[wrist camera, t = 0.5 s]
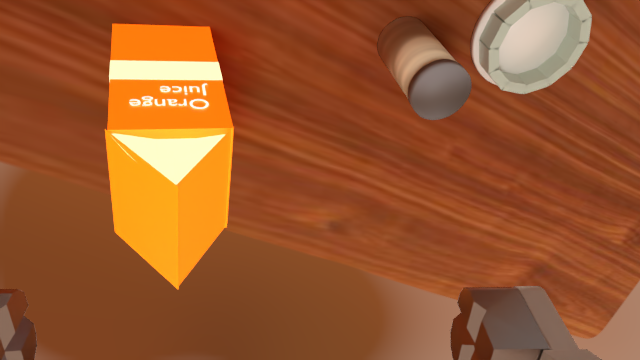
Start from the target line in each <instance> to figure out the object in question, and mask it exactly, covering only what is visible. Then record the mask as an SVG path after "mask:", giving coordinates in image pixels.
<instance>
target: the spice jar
mask: <svg viewBox="0 0 640 360" xmlns="http://www.w3.org/2000/svg"><path fill="white" fill-rule="evenodd" d="M377 50H378V53H379V56H380V57H381V59H382V60H383V62H384V63H385V65H386V66H387V68H388V69H389V71H390V72H391V74H392V75H393V77H394V78H395V80H396V81H397V83H398V84H399V86H400V87H401V89H402V90H403V92H404V93H405V95H406V96H407V98H408V100H409V102H410V104H411V106H412V107H413V109H414V110H415V112H416V113H417V114H418V115H419V116H421V117H422V118H425V119H429V120H437V119H442V118H445V117H448V116H450V115H451V114H453V113H455V112H456V111H457V110H458V109H460V108H461V107H462V106H463V104H464V103H465V102H466V100H467V98H468V96H469V94H470V91H471V78H470V76H469V74H468V73H467V71H466V70H465V69H464V68H463V67H462V66H461V65H460V64H459V63H458V62H456V61H455V60H454V58H453V57H452V56H451V55H450V54H449V53H448V51H447V50H446V49H445V48H444V47H443V46H442V44H441V43H440V42H439V41H438V40H437V39H436V38H435V36H434V35H433V34H432V33H431V32H430V31H429V29H428V28H427V27H426V26H425V25H424V24H423V23H422V22H421V21H420V20H419V19H417V18H414V17H401V18H398V19H395V20H394V21H392V22H390V23H389V24H388V25H387V26H386V27H385V28H384V29H383V30H382V32H381V34H380V36H379V39H378V43H377Z"/></svg>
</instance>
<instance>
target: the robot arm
mask: <svg viewBox="0 0 640 360" xmlns="http://www.w3.org/2000/svg"><path fill="white" fill-rule="evenodd" d="M457 303H458V306H459V308H460V311H461V313H460V314H459V315H458V316H457V317H456V318H454V319H453V323H452V328H451V351H452V356H453V360H602V359H600V358H599V357H597V356H596V355H594V354H593V353H591V352H590V351H588V350H587V349H586V350H582V349H579V348H578V346H577V345H576V343H575V341H574V339H573V338H572V336H571V334H570V333H569V331H568V329H567V328H566V326H565V324H564V322H563V321H562V319H561V317H560V316H559V314H558V312H557V311H556V309H555V307H554V306H553V304H552V302H551V300H550V299H549V297H548V295H547V294H546V292H545V290H544V289H543V288H541V287H540V286H520V287H466V288H463V289H462V291H461V292H460V295H459V299H458V302H457ZM27 307H28V302H27V300H26V296H25V293H24V292H23V291H21V290H18V289H0V360H34V358H35V353H36V347H37V341H36V331H35V327H34V324H33V323H32V322H31V321H30V320H29V319H27V318H26V317H25V316H24V313H25V312H26V309H27Z"/></svg>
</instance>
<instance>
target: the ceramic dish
mask: <svg viewBox="0 0 640 360" xmlns="http://www.w3.org/2000/svg"><path fill="white" fill-rule="evenodd" d="M591 16H592V15H591V13H590V12H589V10H588V8H587V6H586V5H585V3H584V1H583V0H491V2H490V3H489V4H488V5H487V6H486V8H485V9H484V10H483V12H482V13H481V15H480V17H479V19H478V20H477V23H476V25H475V27H474V30H473V33H472V38H471V45H470V51H471V58H472V61H473V64H474V66H475V68H476V69H477V70H478V72H479V73H480V74H481V75H482V76H483V77H484V78H485V79H486V80H488V81H489V82H491V83H493V84H495V85H498V86H499V88H500V89H502V90H504V91H509V92H515V93H520V94H523V93H524V94H526V93H529V92H532V91H535V90H538V89H541V88H544V87H548V86H549V85H551V84H552V83H554V82H555V81H556V80H557V79H559V78H560V77H561V76H563V75H564V74H565V73H566V72H568V71H569V70H570V69H571V68H572V67H571V66H574V65H575V63H576V61H577V60H578V58H579V57H580V55H581V54H582V52H583V50H584V49H585V47H586V46H587V44H588V43H587V42H588V41H589V36H590V28H591V21H592V17H591Z"/></svg>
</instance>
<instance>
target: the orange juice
mask: <svg viewBox="0 0 640 360" xmlns="http://www.w3.org/2000/svg"><path fill="white" fill-rule="evenodd" d="M109 81H110V88H109V109H108V131H107V130H106V129H105V135H106V145H107V156H108V166H109V176H110V187H111V197H112V207H113V217H114V228H115V233H116V234H118V235H119V236H120V237H121V238H122V239H123V240H124V241H125V242H126V243H127V244H129V245H130V246H131V247H132V248H133V249H134V250H135V251H136V252H137V253H139V255H141V256H142V257H143V258H144V259H145V260H146V261H147V262H148V263H149V264H151V265H152V266H153V267H154V268H155V269H156V270H157V271H158V272H159V273H160V274H161V275H163V276H164V277H165V278H166V279H167V280H168V281H169V282H170V283H171V284H173V285H174V286H175V287H176V288H177V289H179V288H178V287H179V285H180V284H181V282H182V281H183V280H184V279H185V277H186V276H187V275H188V273H189V272H190V271H191V270H192V268H193V267H194V266H195V264H196V263H197V262H198V261H199V259H200V258H201V257H202V255H203V254H204V253H205V252H206V250H207V249H208V248H209V247H210V245H211V244H212V243H213V241H214V240H215V239H216V238H217V236H218V235H219V234H220V232H221V231H222V230H223V229H224V228H225V227H227V220H228V205H229V191H230V176H231V162H232V148H233V133H234V126H233V124H232V120H231V116H230V112H229V107H228V103H227V99H226V95H225V90H224V86H223V79H222V75H221V70H220V66H219V62H218V61H217V56H216V52H215V48H214V43H213V39H212V35H211V31H210V27H194V26H165V25H135V24H112V45H111V60H110V74H109Z"/></svg>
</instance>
